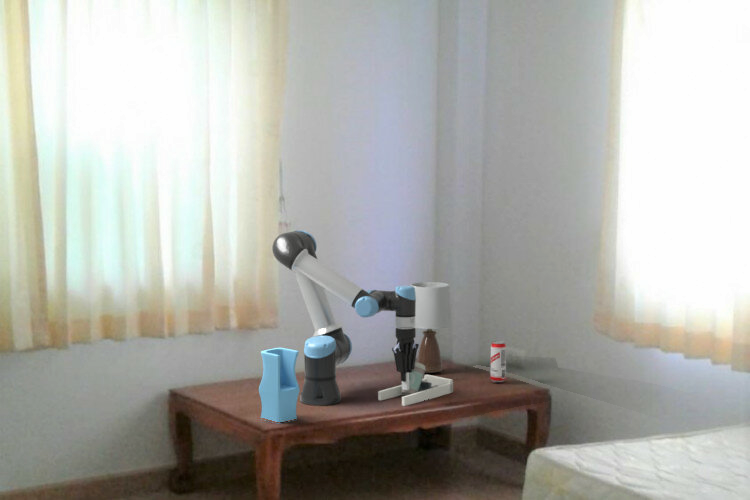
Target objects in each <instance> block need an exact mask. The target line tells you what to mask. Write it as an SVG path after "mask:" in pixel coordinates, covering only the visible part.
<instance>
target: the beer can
mask: <svg viewBox="0 0 750 500" xmlns="http://www.w3.org/2000/svg"><path fill="white" fill-rule="evenodd" d="M489 376H490V380H491V381H492V382H493V383H502V382H505V380H506V379H507V346H506V342H505V341H503V340H493V341H492V343H491V345H490V375H489Z"/></svg>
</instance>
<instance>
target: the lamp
mask: <svg viewBox="0 0 750 500" xmlns="http://www.w3.org/2000/svg"><path fill="white" fill-rule="evenodd" d="M410 286H412V287H414V288H415V295H416V311H415V327H414V328H415V329H424V330H423V331H422V334H423V337H422V339H421V342H420V344H419V347H418V355H417V358H416V359H417V360H416V362H417V363H420V364H423V365H424V366H425V370H426V372H425V373H430V374H431V373H438V372H441V371H443V360H442V354H441V348H440V344H439V341H438V339H437V335H436V334H437V331H435V329H436V330H437V329H438V330H440V329H447V328H450V327H452V312H451V311H452V310H451V296H450V295H451V293H450V284H449V283H444V282H437V281H434V282H433V281H427V282H426V281H424V282H413V283H410Z"/></svg>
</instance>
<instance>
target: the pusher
mask: <svg viewBox="0 0 750 500" xmlns="http://www.w3.org/2000/svg"><path fill="white" fill-rule="evenodd" d="M437 386H438V385H435V386H432V383H429V382H425V381H421V384H420V387H419V390H418V392H420V391H424V390H427V389H430V388H434V387H437Z"/></svg>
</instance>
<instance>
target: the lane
mask: <svg viewBox="0 0 750 500" xmlns="http://www.w3.org/2000/svg"><path fill="white" fill-rule="evenodd" d="M422 381H425V382H429V383H432V386H435V385H438V386H437V387H434V388H430V389H427V390H424V391H420V392H417V393H413V394H410V395H407V396H406V395H404V394H402V393H401V391H402V384H400V385H396V386H393V387H389V388H386V389H382V390H378V391H377V400H378V401H384V400H387V399H388V400H389V399H392V398H397V397H400V396H401V406H403V407H405V406H410V405H413V404H417V403H420V402H424V400H425V401H428V399H429V400H433V399H435V398H438V397H441V396H446V395H448V394H449V395H450V394H451V393H453V392H454V380H453V379H452V378H446V377H442V376H437V375H431V374H427V373H426V374H424V376H423V378H422Z"/></svg>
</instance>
